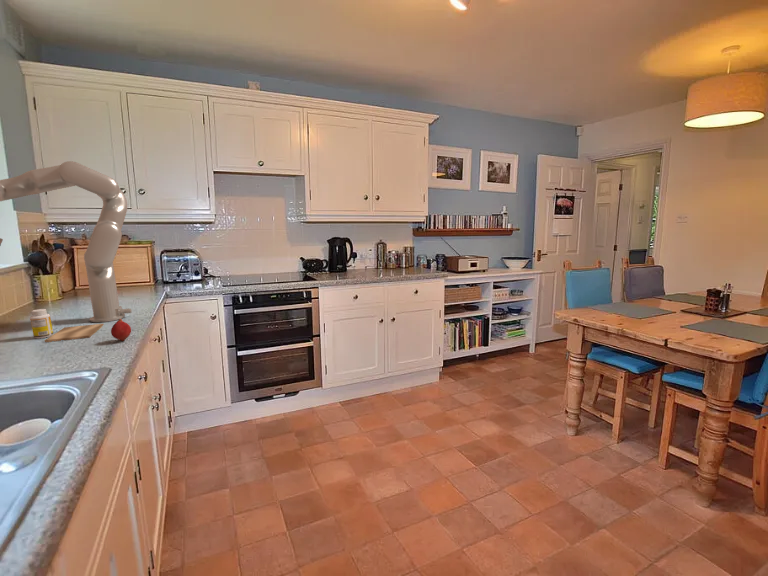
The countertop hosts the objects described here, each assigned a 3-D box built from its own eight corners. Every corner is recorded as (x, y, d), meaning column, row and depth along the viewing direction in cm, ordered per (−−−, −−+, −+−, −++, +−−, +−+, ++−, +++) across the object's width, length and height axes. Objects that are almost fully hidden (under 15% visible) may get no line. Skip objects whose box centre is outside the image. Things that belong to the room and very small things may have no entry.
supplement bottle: (45, 334, 147) (40, 308, 145) (57, 334, 146) (52, 308, 144) (29, 338, 141) (24, 311, 139) (42, 339, 140) (37, 312, 138)
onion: (111, 344, 133) (108, 322, 131) (114, 340, 138) (110, 318, 136) (131, 341, 135) (128, 319, 134) (133, 337, 140) (130, 316, 139)
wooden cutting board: (103, 325, 158) (103, 323, 158) (89, 337, 141) (89, 335, 141) (64, 329, 153) (64, 327, 153) (45, 342, 137) (44, 340, 136)
